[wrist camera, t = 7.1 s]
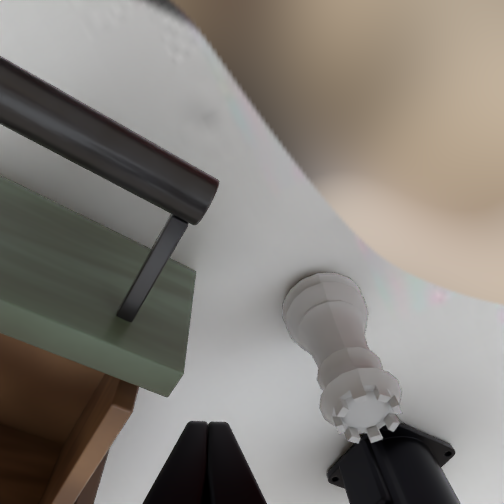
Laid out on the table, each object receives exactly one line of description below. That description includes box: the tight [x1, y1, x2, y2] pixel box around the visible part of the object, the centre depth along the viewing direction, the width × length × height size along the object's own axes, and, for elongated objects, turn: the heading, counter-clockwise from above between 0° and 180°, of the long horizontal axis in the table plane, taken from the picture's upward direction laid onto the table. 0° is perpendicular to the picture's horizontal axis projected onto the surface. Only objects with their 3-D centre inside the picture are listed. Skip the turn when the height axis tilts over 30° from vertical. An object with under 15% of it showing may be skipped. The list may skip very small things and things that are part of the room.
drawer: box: [0, 56, 219, 504], centre depth 16 cm, size 19×11×7 cm, turn 148°
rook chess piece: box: [282, 273, 402, 444], centre depth 19 cm, size 4×4×8 cm
